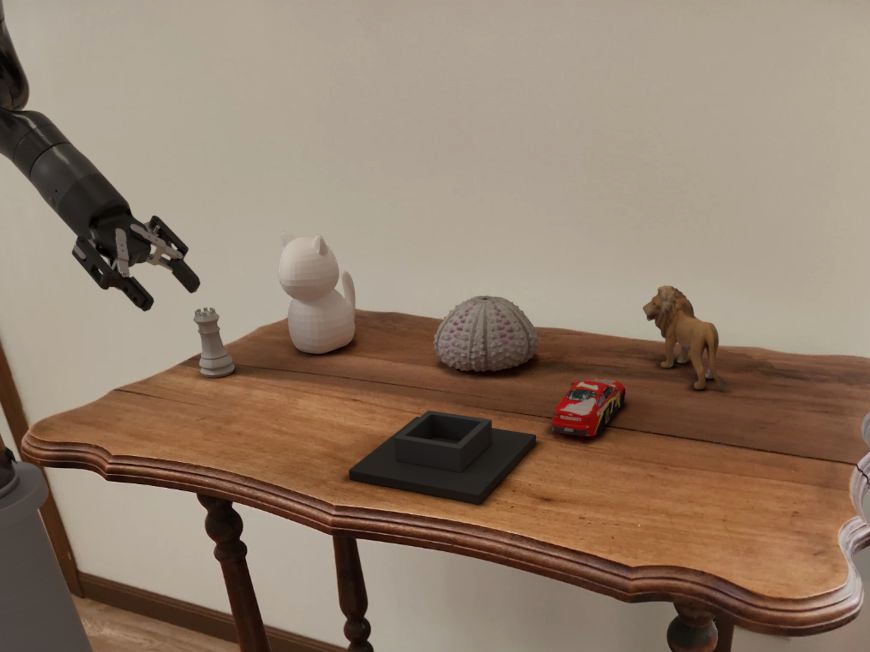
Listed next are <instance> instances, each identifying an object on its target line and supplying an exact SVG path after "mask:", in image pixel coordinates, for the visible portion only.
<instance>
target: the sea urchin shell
mask: <svg viewBox="0 0 870 652" xmlns="http://www.w3.org/2000/svg"><path fill="white" fill-rule="evenodd" d="M538 334H539V331H537V329H536V327H535V326H534V324H533V323H532V322H531V320H530V319H529V318H528V316H527V315H526V314H525V312H524V310H521V309H520V307H519V305H516V304H515V303H514V302H513V301H511V300H509V299H507V298H504V297H502V296H491V295H478V296H473V297H471V298H468V299H466V300H465V301H462V302H461V303H459V304H455V307H454V308H453V309H452V310H449V311H448V314H447V315H446V316H443V320H442V322H441V323H439V326H438V329H437V330H436V334H434V336H433V338H434V341H433V342H432V344H433V345H434V348H433V350H434V351H435V352H436V356H437V357H438V358H439V359H440V362H442V363H443V364H445V365H447V366H448V368H455V370H460V372H464V371H465V372H469V371H475V372H483V373H484V372H486V371H492V372H496V371H501V370H503V369H504V370H507V369H511V368H513V367H519V366H520V365H522V364H525V363H527V362H528V361H529V360H531V359H533V357H534V354H536V353H537V349H538V347H539V340H540V339H539V337H538Z"/></svg>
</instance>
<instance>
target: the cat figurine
mask: <svg viewBox="0 0 870 652" xmlns="http://www.w3.org/2000/svg"><path fill="white" fill-rule="evenodd" d="M280 243H281V248H282V252H281V254H280V257H279V262H278V280H279V281H278V282H279V284H280V286H281V288H282V290H283V291H284V292H285V293H286V294H287V295H288V296H289V297H291V298H292V299H291V301H290V303H289V306H288V311H287V327H288V333H289V337H290V341H291V342H292V344H293V345H294V347H295V348H296V349H298V350H299V351H300V352H303V353H308V354H316V355H319V354H326V353H329V352H332V351H334V350H337V349H340V348H343V347H345V346H347V345H348V344H349V343H351V342H352V340H353V339H354V336H355V330H356V325H355V324H356V323H355V317H356V289H355V283H354V280H353V277H352V275H351V273H349V271H348V270H346V269H343V270H342V271H341V273H340V268H339V264H338V260H337V258H336V255H335V253H334V252H333V250H332V249H331V247H330V246H328V244H327V243H326V241H325V239H324V237H323V236H322V235H320V234H317V235H315V236H314V237H313V236H300V237H298V236H296V235H294V234H292V233H290V232H287V231H282V232H281V234H280ZM339 279H341V284H342V288H343V294H344V295H342V293H340V291H338V290H337V289H336V286H337V285H338V282H339Z"/></svg>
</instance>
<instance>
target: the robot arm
mask: <svg viewBox="0 0 870 652" xmlns="http://www.w3.org/2000/svg"><path fill="white" fill-rule="evenodd" d="M30 93H31V88H30V83H29V79H28V77H27V74H26V72H25V70H24V67H23V65H22V62H21V61H20V57H19V55H18V54H17V51H16V47H15V45H14V43H13V40H12V37H11V35H10V32H9V29H8V26H7V23H6V16H5V8H4V1H3V0H0V154H1V155H2V156H4V157H5V158H6V159H8V160H10V162H11V163H12V164H13V165H14V166H15V167H16V168H17V169H18V171H20V173H21V174H22V175H23V176H24V177H25V178H26V179H27V180H28V181H29V182H30V183H31V184H32V186H33V187H34V188H35V189H36V191H37V192H38V194H39V195H40V197H41V198H42V199H43V201H44V202H45V203H46V204H47V205H48V206H49V207H50V209H52V210H53V212H55V214H56V215H57V216H58V217H59V218H60V219H61V220H62V221H63V222H64V223H65V224H66V225H67V227H69V229H70V230H71V231H72V232H73V233H74V235H76V236H77V238H76V240H75V242H74V245H73V247H72V250H71V255H72V256H73V257H74V259H75V260H76V261H77V262H78V263H79V264H80V266H81V267H82V268H83V269H84V270H85V271H86V272H87V274H88V275H89V276H90V277H91V279H92V280H93V281H94V282H95V283H96V284H97V286H98V287H99V288H100V289H101V290H104V291H108V290H109V289H110V288H115V289H116V290H117V291H121V292H122V293H123V294H124V295H125V296H126V297H127V298H128V299H129V301H131V302H132V304H133V305H134V306H136V308H137V309H140V310H141V311H142V312H144V313H145V312H148V311H150V310H151V309H152V307H153V305H154V303H155V299H154V297H153V296H152V295H151V294H150V292H149V291H147V289H146V288H145V287H144V285H142V284H141V282H140V281H139V280H138V279H137V278H136V277H135V276H134V275H132V276H130V275H131V273H130V268H132V267H134V266H135V265H136V264H138V265H139V264H144V263H148V264H150V265H152V266H154V267H155V266H160V267H163V268H165V269H166V270H168V271H170V272H171V274H172V276H173V277H174V278H175V279H176V280H177V281H178V282H179V283H180V284H181V285H182V287H184V289H185V290H186V291H187V292H188V293H189V294H194V293H196V292H197V291H198V289H199V287H200V286H201V280H200V278H199V276H198V275H197V273H195V271H194V270H193V269H192V268H191V267H190V265H188V264H187V262H186V261H185V258H186V256H187V254H188V252H189V250H190V249H189V247H188V245H186V243H184V241H183V240H182V239H181V238H180V237H179V236H178V235H177V234H176V233H175V232H174V231H173V230H172V229H171V228H170V227H169V226H168V225H167V224H166V223H165V222H164V221H163V220H162V218H160V217H159V216H157V215H151V218H150V219H149V221H146V222H141V221H140V220H138V219H137V218H136V217H135V216H134V215H133V213H132V210H131V206H130V203H129V202H128V200H127V199H126V198H125V197H124V196H123V195H122V194H121V193H120V192H119V190H118V189H117V188H116V187H115V186H114V184H112V183H111V182H110V181H109V180H108V179H107V177H106V176H105V175H104V174H103V172H101V171H100V169H98V167H97V166H96V165H95V164H94V163H93V162H92V161H91V160H90V159H89V158H88V157H87V156H86V155H85V154H84V153H83V152H81V150H79V149H78V148H77V147H76V146H75V145H74V144H73V143H72V142H71V141H70V140H69V138H68V137H67V136H66V135H65V134H64V132H62V130H60V128H59V127H57V125H56V124H55V123H54V122H53V120H51V119H50V118H49V117H48V116H47V115H45V113H42V112H40V111H37V110H31V109H30V110H28V109H27V110H26V109H25V108H26V106H27V105H28V102H29V99H30ZM152 246H153V247H155V250H154V252H153V253H151V252H152ZM173 246H174V247H175V248H176V249H175V248H174V247H173ZM162 255H166V256H168V257H169V258H170V259H168V258H166V257H164V256H162ZM104 258H106V260H107V261H106V260H105V259H104ZM12 461H14V462H15V463H16V464H17V462H16V461H17V460H16V457H15V454H14V451H13V450H12V449H11V448H9V447H8V446H6V444H5V441H4V438H3V436H2V433H0V498H2V497H4V496H6V495H7V494H9V493H10V492H11V491H13V490H14V489H15V488H16V486H17V485H18V483H19V476H18V473H17V471H16V469H15V468H14V466H13V464H12ZM17 465H18V464H17Z"/></svg>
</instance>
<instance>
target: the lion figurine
mask: <svg viewBox="0 0 870 652" xmlns="http://www.w3.org/2000/svg"><path fill="white" fill-rule="evenodd" d="M642 310H643V312H644V314H645V316H646V320H647V321H648V322H651V321H653V320H654V325H655V327H657V328H658V329H659V330H660V335H661V337H662V338H663V339H664V340H665V341H664V348H665V349H664V350H665V356H666V360H664V361H662V362H661V363H660V367H661V368H665V369H668V368H672V367H673V366H674V360H675V359H674V349H675V346H676V344H678V345H680V353H679V356H678V357H677V359H676V362H677V363H679V364H686V363H687V362H688V357H689V352H690V358H691V359H690V360H691V363H692V367H693V368H694V370H695V373H696V375H697V379H698V380H697V381H696V382H694V384H693V389H695V390H702V389H703V390H704V388H705V387H706V379H711V380H712V379H714V381H715V383H716V384H717V386H718V387H719V388H722V389H727V388H728V383H726V382H725V381H724V380H723V379H722V378H721V377H720V376H719V375H718V373H717V369H716V368H717V367H716V356H717V352H718V348H719V343H720V338H719V337H720V336H719V332H718V330H717V327H716V326H715V324H714V323H713V322H709V321H704V320H701V319H699V318H698V317H696V316H695V311H694V307H693V305H692V303H691V301H690V300H689V299H688V298H687V296H686V295H685V294H684V293H683V292H682V291H680V290H679V289H678V288H677V287H674V286H673V285H662V286H659V287H658V288H657V294H656V295H655V296H653V297H652V298H651V300H650V301H649V302H648V303H646V304H645V305H643V307H642ZM705 350H706V355H707V360H708V367H707V371H705V367H704V366H703V355H704V351H705Z"/></svg>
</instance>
